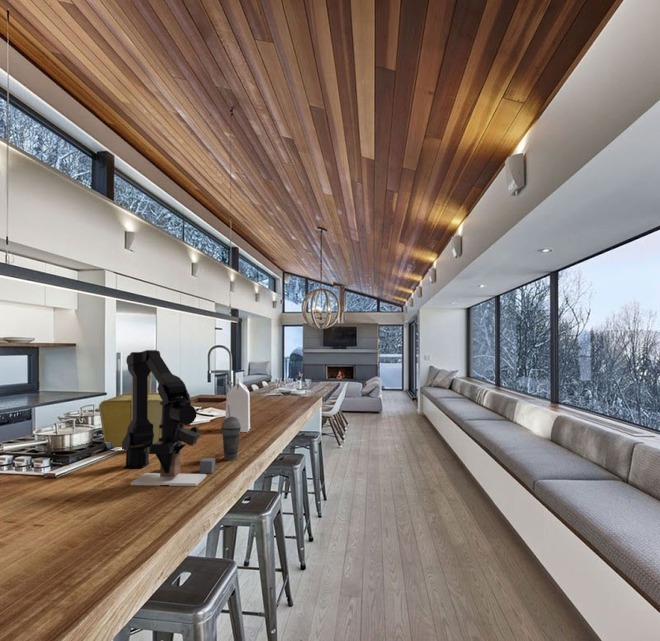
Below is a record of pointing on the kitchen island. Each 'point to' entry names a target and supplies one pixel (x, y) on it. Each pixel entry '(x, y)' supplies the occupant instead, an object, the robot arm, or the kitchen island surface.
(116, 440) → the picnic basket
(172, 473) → the walnut block
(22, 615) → the kitchen island surface
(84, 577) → the kitchen island surface
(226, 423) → the beverage cup
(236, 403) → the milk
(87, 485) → the kitchen island surface
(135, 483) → the cream tile
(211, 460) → the charcoal block
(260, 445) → the kitchen island surface
